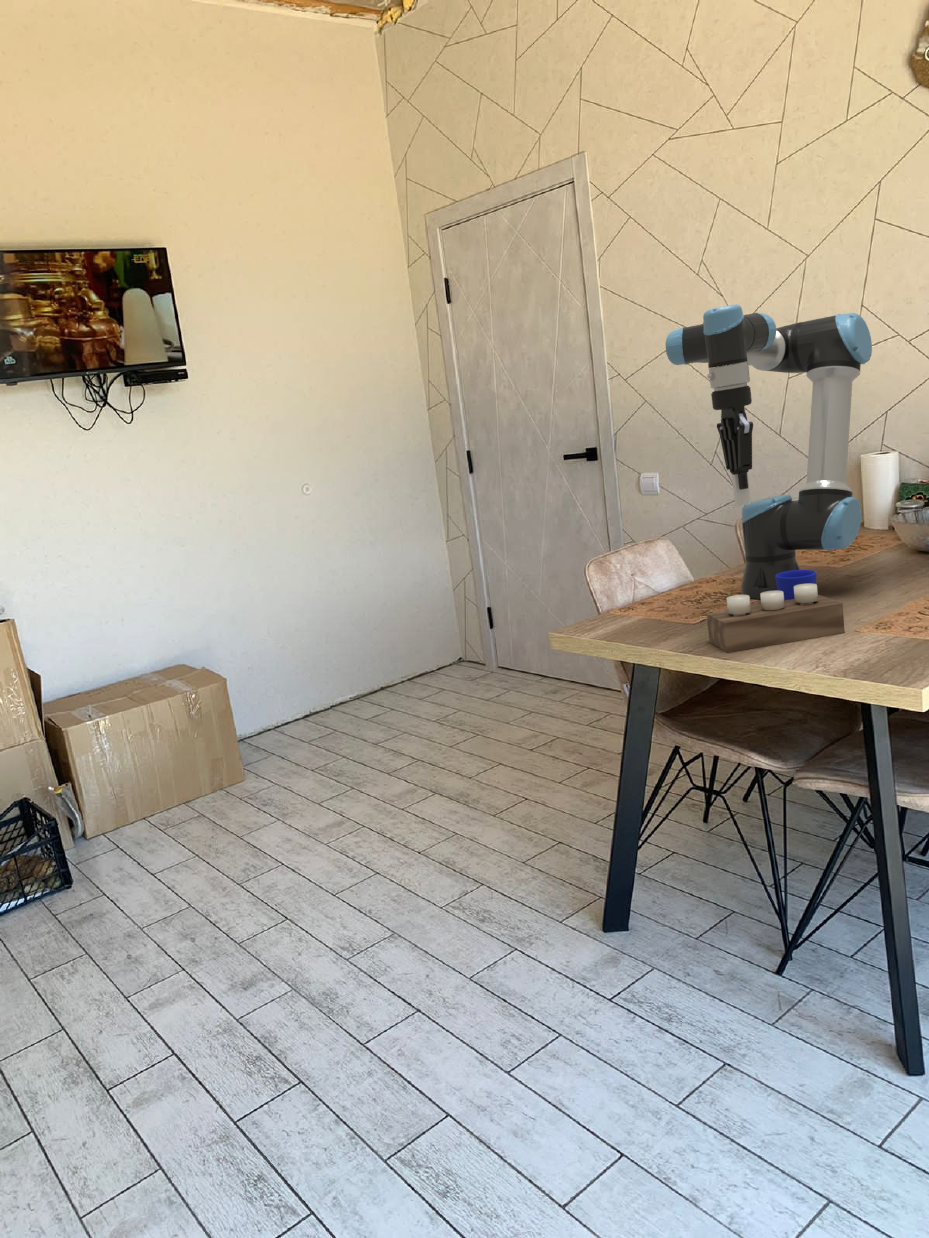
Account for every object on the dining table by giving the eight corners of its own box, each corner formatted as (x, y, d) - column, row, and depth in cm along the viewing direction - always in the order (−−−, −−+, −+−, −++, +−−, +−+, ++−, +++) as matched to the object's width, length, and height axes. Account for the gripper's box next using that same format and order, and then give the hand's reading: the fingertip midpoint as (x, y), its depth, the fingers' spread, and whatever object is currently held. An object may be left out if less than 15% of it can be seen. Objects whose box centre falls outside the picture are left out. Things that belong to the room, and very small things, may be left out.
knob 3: (793, 627, 191) (789, 586, 189) (813, 623, 191) (810, 582, 190) (802, 631, 187) (799, 589, 185) (824, 627, 187) (820, 585, 185)
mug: (819, 609, 206) (815, 564, 204) (820, 622, 195) (816, 575, 193) (779, 612, 209) (776, 568, 207) (778, 625, 198) (774, 579, 196)
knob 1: (727, 638, 190) (723, 597, 188) (748, 634, 190) (744, 593, 189) (735, 642, 186) (731, 600, 184) (756, 639, 186) (752, 597, 184)
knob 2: (760, 634, 191) (756, 593, 189) (781, 630, 191) (777, 589, 189) (769, 638, 186) (765, 596, 185) (790, 634, 187) (787, 592, 185)
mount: (709, 641, 193) (706, 613, 192) (820, 622, 194) (818, 594, 193) (727, 652, 183) (724, 623, 182) (844, 632, 185) (842, 603, 183)
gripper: (700, 391, 191) (713, 505, 197) (724, 389, 179) (738, 511, 184) (735, 385, 192) (747, 498, 197) (762, 382, 179) (774, 504, 184)
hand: (742, 504), depth 190 cm, fingers closed
